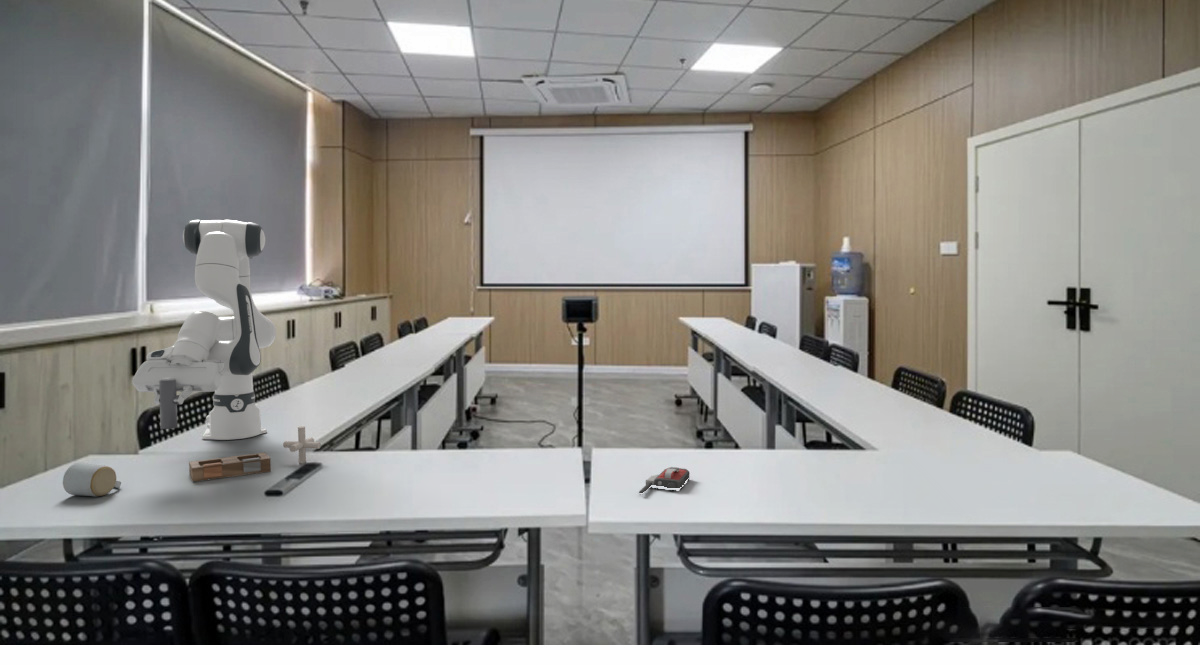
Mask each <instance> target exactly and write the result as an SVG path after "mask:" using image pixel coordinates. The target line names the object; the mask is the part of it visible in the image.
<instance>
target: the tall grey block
mask: <svg viewBox="0 0 1200 665" xmlns="http://www.w3.org/2000/svg"><path fill="white" fill-rule="evenodd" d="M159 388H160V404H159V416H160V417H159V420H160V424H159V425H160V430H172V429H176V428H177V429H178V404H175V402H174V399H175V396H176V395H178V394H177V392H176V380H175V377H165V378H161V380H160V381H159Z"/></svg>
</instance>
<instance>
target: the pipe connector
mask: <svg viewBox="0 0 1200 665" xmlns="http://www.w3.org/2000/svg"><path fill="white" fill-rule="evenodd" d="M297 436H298V438H297V439H298V441H289V440H288V441H287V440H285V441H283V443H282V446H283V448H286V449H289V451H290V452H292V453H294V452H297V451H298V463H299V464H305V462H306V463H307V454H306V453H307V450H306V449H319V450H320V448H321V446H322V444H321V441H315V439H314V438H313V437H311V436H310V437H309V438H306V426H298V427H297Z"/></svg>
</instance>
